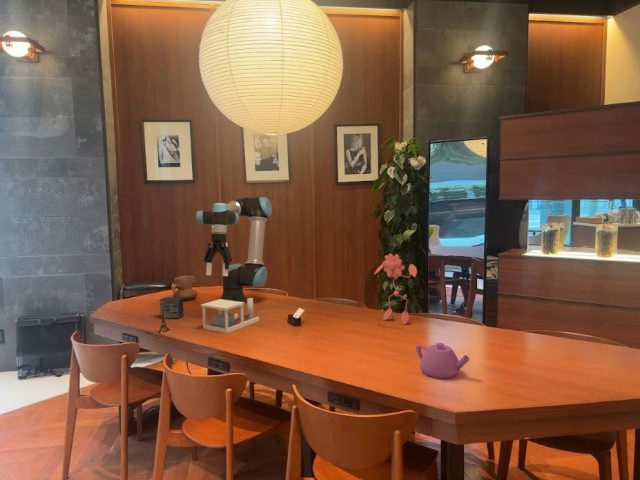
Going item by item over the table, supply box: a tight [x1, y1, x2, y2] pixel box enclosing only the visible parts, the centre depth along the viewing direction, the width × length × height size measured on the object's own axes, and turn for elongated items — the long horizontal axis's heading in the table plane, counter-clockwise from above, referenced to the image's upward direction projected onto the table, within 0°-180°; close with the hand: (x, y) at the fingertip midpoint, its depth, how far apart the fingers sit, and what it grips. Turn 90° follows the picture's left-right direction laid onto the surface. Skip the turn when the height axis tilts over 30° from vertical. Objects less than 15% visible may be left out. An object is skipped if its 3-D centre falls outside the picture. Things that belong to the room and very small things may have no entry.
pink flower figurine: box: [373, 253, 418, 330], centre depth 227 cm, size 15×26×35 cm, turn 45°
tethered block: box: [211, 297, 255, 328], centre depth 231 cm, size 26×7×10 cm, turn 149°
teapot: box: [415, 342, 471, 379], centre depth 165 cm, size 14×20×11 cm
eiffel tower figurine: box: [144, 308, 171, 336], centre depth 221 cm, size 15×10×13 cm
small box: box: [159, 297, 184, 320], centre depth 248 cm, size 11×6×10 cm, turn 84°
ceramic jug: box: [171, 275, 198, 302], centre depth 291 cm, size 18×14×14 cm
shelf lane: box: [200, 298, 260, 334], centre depth 228 cm, size 24×16×13 cm, turn 149°
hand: (216, 275), depth 233 cm, fingers open, 13 cm apart
